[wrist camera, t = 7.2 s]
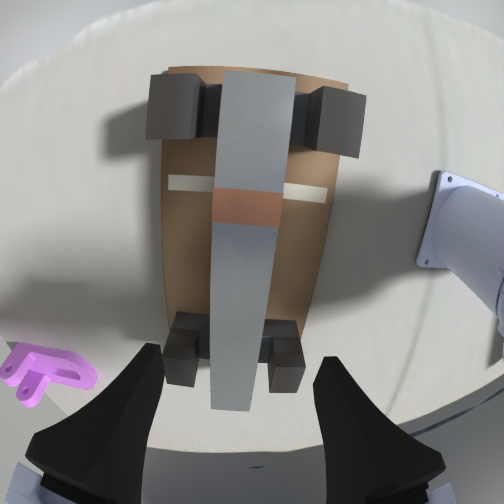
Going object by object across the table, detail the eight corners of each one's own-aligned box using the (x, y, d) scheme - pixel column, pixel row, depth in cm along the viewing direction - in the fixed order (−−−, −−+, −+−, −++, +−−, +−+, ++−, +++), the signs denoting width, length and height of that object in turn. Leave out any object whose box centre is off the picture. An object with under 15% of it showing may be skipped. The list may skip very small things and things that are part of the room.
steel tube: (287, 87, 12) (297, 77, 10) (249, 383, 22) (249, 411, 19) (228, 82, 12) (223, 70, 9) (213, 380, 22) (210, 409, 19)
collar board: (345, 85, 14) (384, 71, 9) (294, 353, 24) (302, 403, 19) (171, 68, 14) (138, 47, 9) (173, 344, 23) (159, 393, 18)
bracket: (37, 369, 27) (18, 403, 21) (19, 341, 25) (-5, 375, 19) (104, 384, 27) (87, 428, 21) (85, 353, 25) (61, 399, 18)
